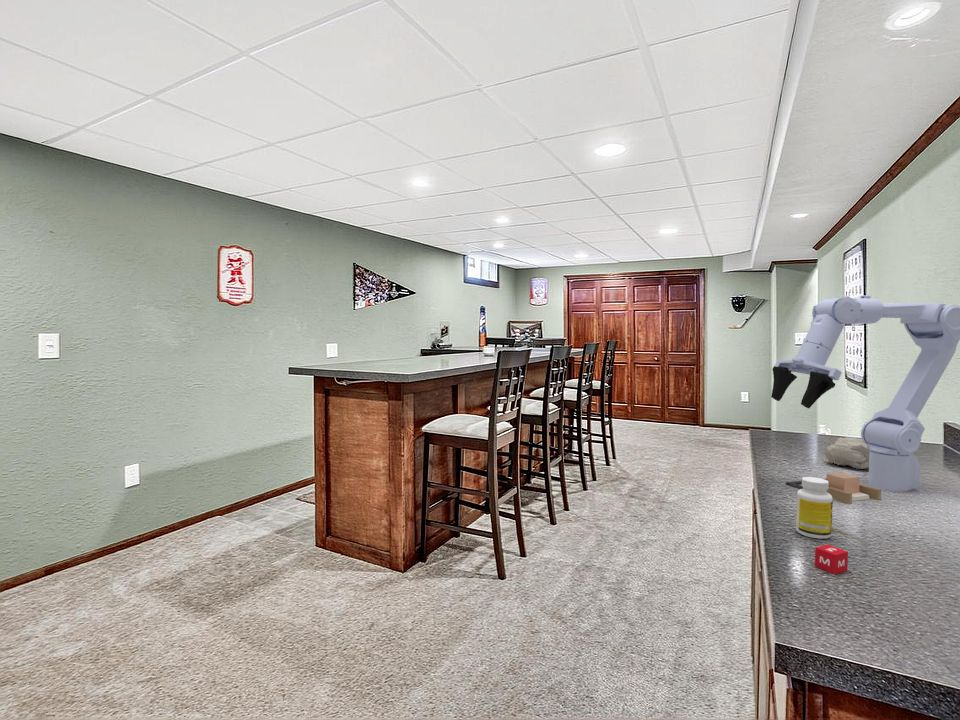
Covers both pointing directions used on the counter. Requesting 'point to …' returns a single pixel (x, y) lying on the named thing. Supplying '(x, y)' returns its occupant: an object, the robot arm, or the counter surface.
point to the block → (844, 482)
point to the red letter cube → (831, 559)
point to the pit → (795, 484)
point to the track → (847, 497)
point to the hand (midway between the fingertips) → (789, 402)
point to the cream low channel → (855, 496)
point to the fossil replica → (848, 453)
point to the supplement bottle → (814, 509)
